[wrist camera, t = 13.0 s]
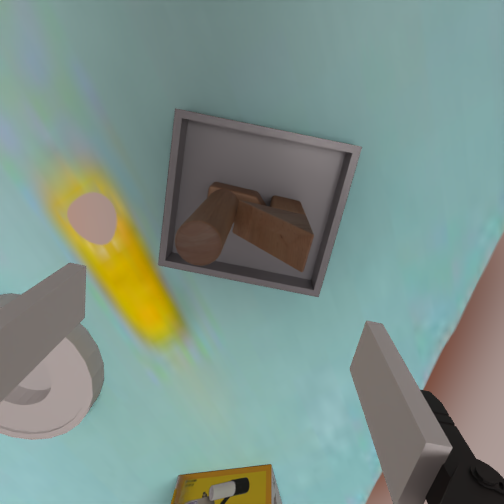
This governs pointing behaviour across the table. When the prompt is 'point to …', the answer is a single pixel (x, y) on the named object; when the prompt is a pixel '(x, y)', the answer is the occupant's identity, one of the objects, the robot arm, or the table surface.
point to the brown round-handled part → (245, 226)
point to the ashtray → (54, 388)
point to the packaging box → (228, 487)
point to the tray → (266, 184)
